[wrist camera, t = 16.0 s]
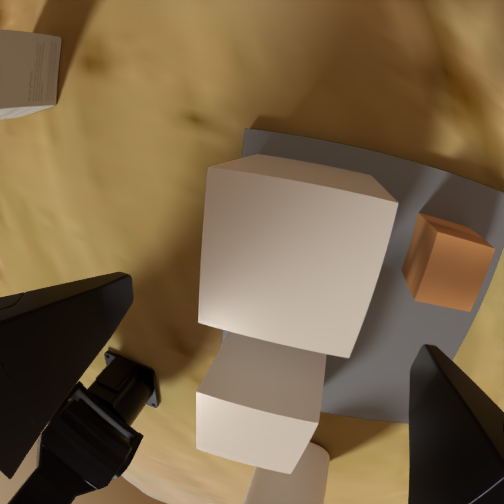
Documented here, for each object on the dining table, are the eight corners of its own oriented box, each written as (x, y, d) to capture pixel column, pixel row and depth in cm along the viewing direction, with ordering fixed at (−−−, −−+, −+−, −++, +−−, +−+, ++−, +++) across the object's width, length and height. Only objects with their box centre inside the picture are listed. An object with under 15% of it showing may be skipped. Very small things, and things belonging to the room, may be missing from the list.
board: (409, 416, 24) (410, 423, 23) (221, 380, 27) (218, 386, 27) (510, 195, 15) (517, 198, 14) (249, 128, 19) (245, 128, 18)
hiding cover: (346, 279, 20) (349, 358, 13) (244, 257, 21) (198, 322, 14) (371, 175, 17) (398, 203, 10) (257, 153, 18) (207, 166, 11)
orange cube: (452, 282, 18) (472, 312, 14) (401, 270, 19) (414, 300, 15) (471, 227, 16) (497, 249, 13) (418, 212, 17) (437, 232, 13)
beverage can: (269, 427, 29) (239, 524, 18) (340, 443, 27) (328, 539, 17) (255, 459, 32) (228, 538, 21) (316, 472, 31) (300, 552, 20)
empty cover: (305, 398, 25) (290, 474, 17) (229, 379, 26) (196, 448, 19) (327, 339, 22) (318, 423, 15) (236, 317, 23) (196, 391, 16)
